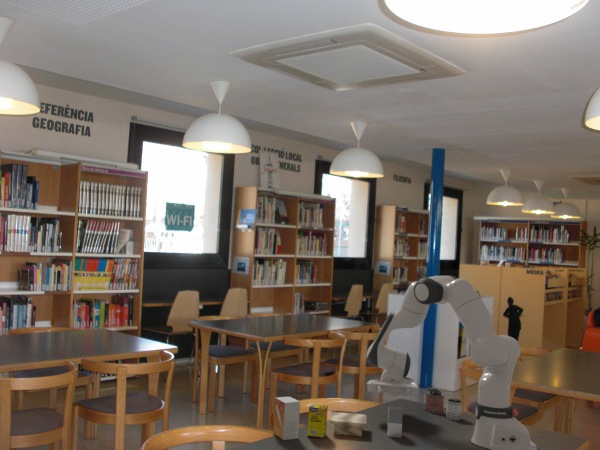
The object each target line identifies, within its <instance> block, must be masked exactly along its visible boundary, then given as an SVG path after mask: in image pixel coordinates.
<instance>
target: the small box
mask: <svg viewBox="0 0 600 450" xmlns="http://www.w3.org/2000/svg"><path fill="white" fill-rule="evenodd" d="M273 413H274V415H273V429H272V430H273V431H272V434H273V435H275V436H276V437H279V439H281V440H283V441H285V440H296V439H299V431H300V430H299V429H300V428H299V427H300V415H301V414H300V413H301V401H299V400H297V399H296V398H293V397H292V396H280V397H277V396H276V397H275V398H274V412H273Z"/></svg>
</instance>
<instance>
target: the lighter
mask: <svg viewBox="0 0 600 450" xmlns="http://www.w3.org/2000/svg"><path fill="white" fill-rule="evenodd" d="M427 391H428V392H425V408H424V411H425V412H427V413H428V412H429V413H432V414H433V413H434V414H439V415H442V414H444V400H445V395H443V394H442V393H443V391H442V390H441V389H439V388H434V387H427Z"/></svg>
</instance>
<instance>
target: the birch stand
mask: <svg viewBox="0 0 600 450" xmlns="http://www.w3.org/2000/svg"><path fill="white" fill-rule="evenodd" d="M330 424H331V425H334V429H333V430H334V431H333V432H334V435H342V434H344V435H345V436H354V435H355V437H357V436H358V437H362V434H363V427H367V425H368V424H367V414H362V413H351V412H350V413H349V412H338V411H332V413H331V416H330ZM344 435H343V436H344Z"/></svg>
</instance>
